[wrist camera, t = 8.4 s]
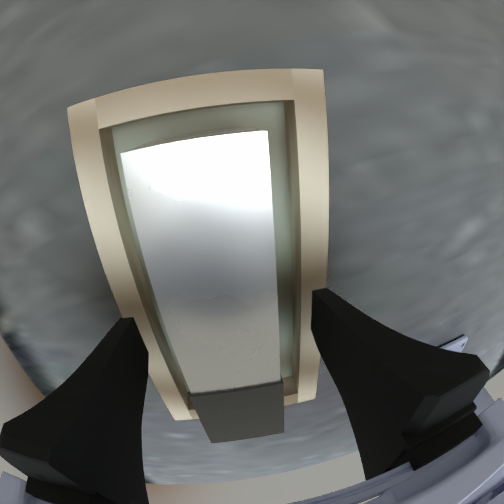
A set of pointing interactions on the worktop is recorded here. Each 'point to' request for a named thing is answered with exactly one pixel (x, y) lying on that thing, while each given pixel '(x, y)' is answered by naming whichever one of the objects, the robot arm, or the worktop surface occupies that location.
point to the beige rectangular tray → (282, 185)
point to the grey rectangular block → (214, 271)
